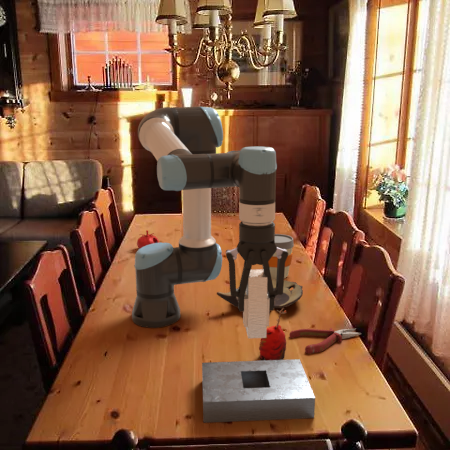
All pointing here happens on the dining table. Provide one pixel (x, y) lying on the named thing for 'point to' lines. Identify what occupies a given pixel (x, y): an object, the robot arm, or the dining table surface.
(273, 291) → the robot arm
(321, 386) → the dining table surface
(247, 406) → the bracket head
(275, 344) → the red clay folk toy
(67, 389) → the dining table surface
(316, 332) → the pliers
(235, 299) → the broken bowl
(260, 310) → the white tall block
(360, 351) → the dining table surface
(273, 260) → the reusable coffee cup
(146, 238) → the pomegranate
